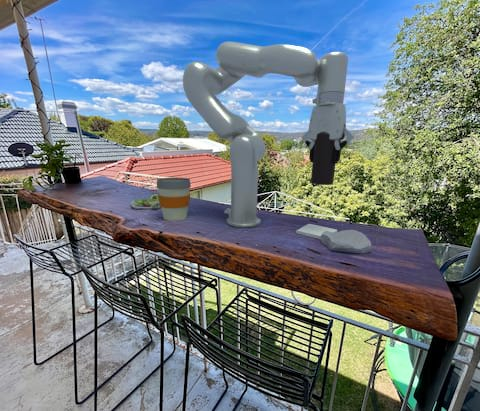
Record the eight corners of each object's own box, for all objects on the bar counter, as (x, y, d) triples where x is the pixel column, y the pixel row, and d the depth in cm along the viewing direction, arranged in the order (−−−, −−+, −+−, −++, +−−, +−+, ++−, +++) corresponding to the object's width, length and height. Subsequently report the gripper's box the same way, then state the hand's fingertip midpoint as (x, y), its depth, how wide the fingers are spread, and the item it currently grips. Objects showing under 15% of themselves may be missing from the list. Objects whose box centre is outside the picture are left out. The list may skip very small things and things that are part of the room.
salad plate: (173, 210, 108) (173, 200, 106) (129, 213, 101) (128, 202, 100) (169, 201, 125) (168, 192, 124) (131, 203, 119) (130, 194, 117)
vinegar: (336, 183, 77) (343, 117, 73) (328, 185, 72) (336, 115, 67) (315, 181, 81) (321, 119, 77) (307, 183, 76) (312, 116, 72)
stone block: (373, 259, 66) (355, 239, 75) (378, 244, 64) (358, 226, 73) (331, 261, 65) (318, 241, 74) (334, 246, 63) (320, 227, 72)
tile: (296, 233, 80) (296, 230, 80) (308, 226, 87) (309, 223, 87) (326, 240, 74) (326, 237, 73) (337, 232, 81) (337, 229, 81)
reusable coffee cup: (179, 223, 87) (178, 182, 84) (151, 219, 91) (148, 180, 88) (197, 215, 99) (196, 178, 95) (171, 212, 103) (169, 176, 99)
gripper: (297, 102, 74) (292, 161, 78) (357, 95, 63) (349, 165, 67) (307, 105, 79) (303, 161, 83) (364, 100, 69) (356, 164, 73)
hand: (323, 162), depth 75 cm, fingers closed on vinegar, 6 cm apart
